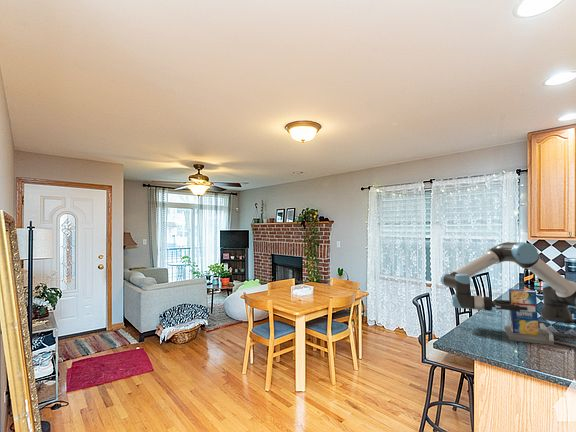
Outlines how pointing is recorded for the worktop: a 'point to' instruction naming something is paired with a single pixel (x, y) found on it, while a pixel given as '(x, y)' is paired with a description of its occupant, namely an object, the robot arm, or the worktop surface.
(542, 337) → the shelf board
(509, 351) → the worktop surface
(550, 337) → the price rail
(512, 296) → the beverage box
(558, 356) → the worktop surface
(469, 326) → the worktop surface
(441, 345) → the worktop surface
